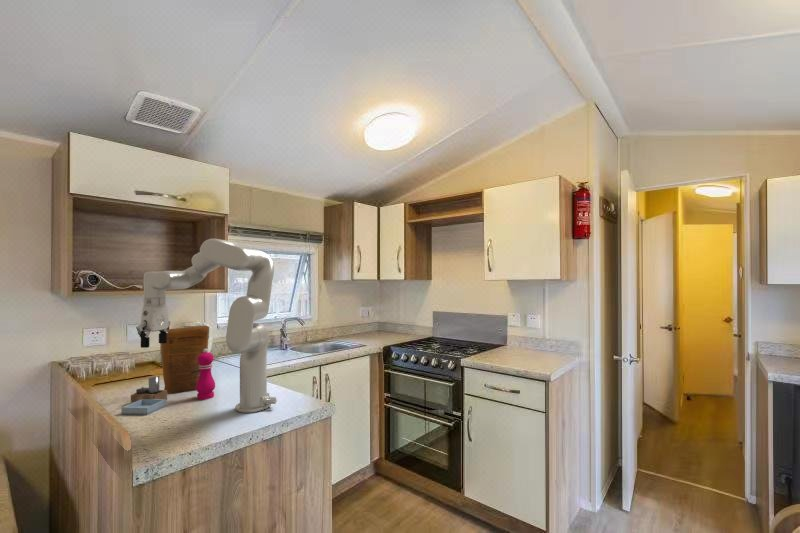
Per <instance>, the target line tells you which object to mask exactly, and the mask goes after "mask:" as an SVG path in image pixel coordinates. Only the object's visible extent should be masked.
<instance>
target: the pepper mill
mask: <svg viewBox="0 0 800 533" xmlns="http://www.w3.org/2000/svg"><path fill="white" fill-rule="evenodd" d="M203 352H204V353H201V354H200V355H199V356H198V359H197V360H198V363H199V364H200V365H199V369H200V376H199V379H198V381H197V384H196V390H195V391H196V392H197V394H196V399H197V400H209V399H212V398H214V397H215V392H214V390H215V388H216V382H215V380H214V378H213V375H212V368H213V362H214V360H215V359H214V358H215V357H214V355H213V353H211V352H209V349H204V350H203Z"/></svg>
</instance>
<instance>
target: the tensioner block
mask: <svg viewBox="0 0 800 533" xmlns="http://www.w3.org/2000/svg"><path fill="white" fill-rule="evenodd" d="M141 399H167V400H168V393H167V390H164V389H159V393H157V394H149V387H145V386H141V388H137V389H136V390H135V392H134V393H131V394H130V404H131V403H134V402H136V401H139V400H141Z"/></svg>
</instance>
